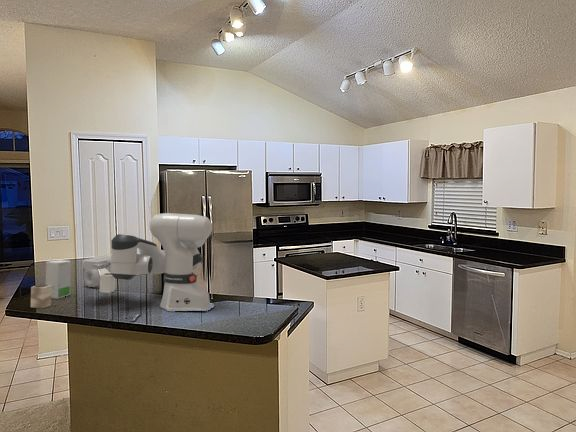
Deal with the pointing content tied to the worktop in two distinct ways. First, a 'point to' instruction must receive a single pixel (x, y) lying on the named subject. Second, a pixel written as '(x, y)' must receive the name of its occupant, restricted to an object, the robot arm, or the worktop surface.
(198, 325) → the worktop surface
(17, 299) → the worktop surface
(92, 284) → the donut
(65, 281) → the skincare box
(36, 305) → the birch marked block
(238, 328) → the worktop surface
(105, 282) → the off-white marked block
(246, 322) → the worktop surface
